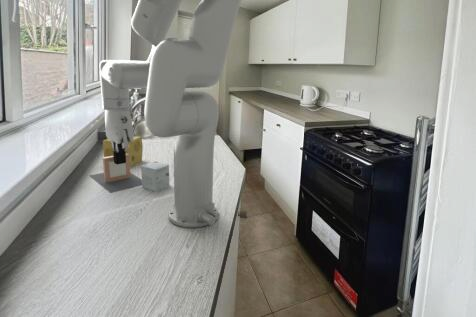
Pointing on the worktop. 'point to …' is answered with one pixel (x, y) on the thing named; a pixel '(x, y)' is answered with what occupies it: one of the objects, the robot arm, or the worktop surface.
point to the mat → (117, 182)
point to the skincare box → (155, 175)
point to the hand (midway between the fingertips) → (120, 162)
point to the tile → (115, 169)
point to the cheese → (133, 150)
